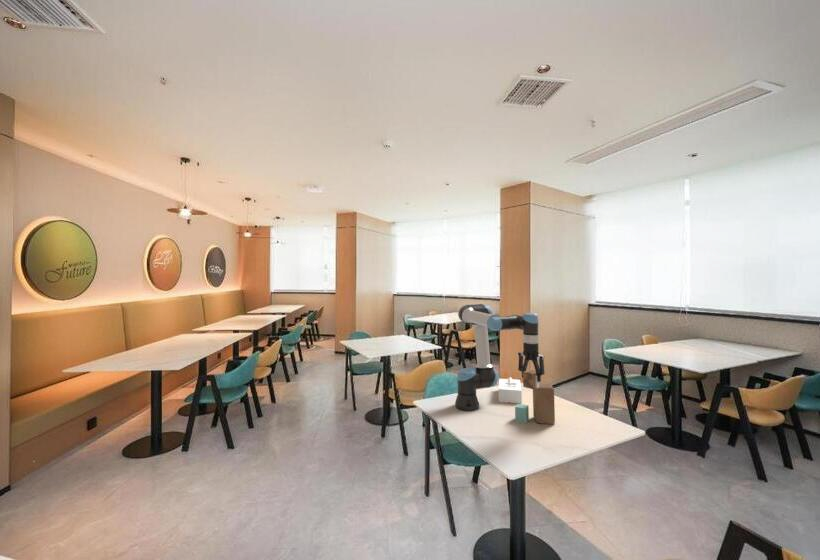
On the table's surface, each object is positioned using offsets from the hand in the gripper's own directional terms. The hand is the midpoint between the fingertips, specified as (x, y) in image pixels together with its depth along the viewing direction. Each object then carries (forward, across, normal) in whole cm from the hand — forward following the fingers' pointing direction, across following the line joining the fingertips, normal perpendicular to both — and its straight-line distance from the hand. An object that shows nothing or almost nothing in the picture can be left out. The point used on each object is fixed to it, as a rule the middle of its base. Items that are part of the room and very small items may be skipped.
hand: (531, 386), depth 175 cm
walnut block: (0, 0, 0) cm, 0 cm away
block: (+24, -1, +17) cm, 29 cm away
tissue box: (+25, -36, +40) cm, 59 cm away
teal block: (+24, -10, +9) cm, 27 cm away
